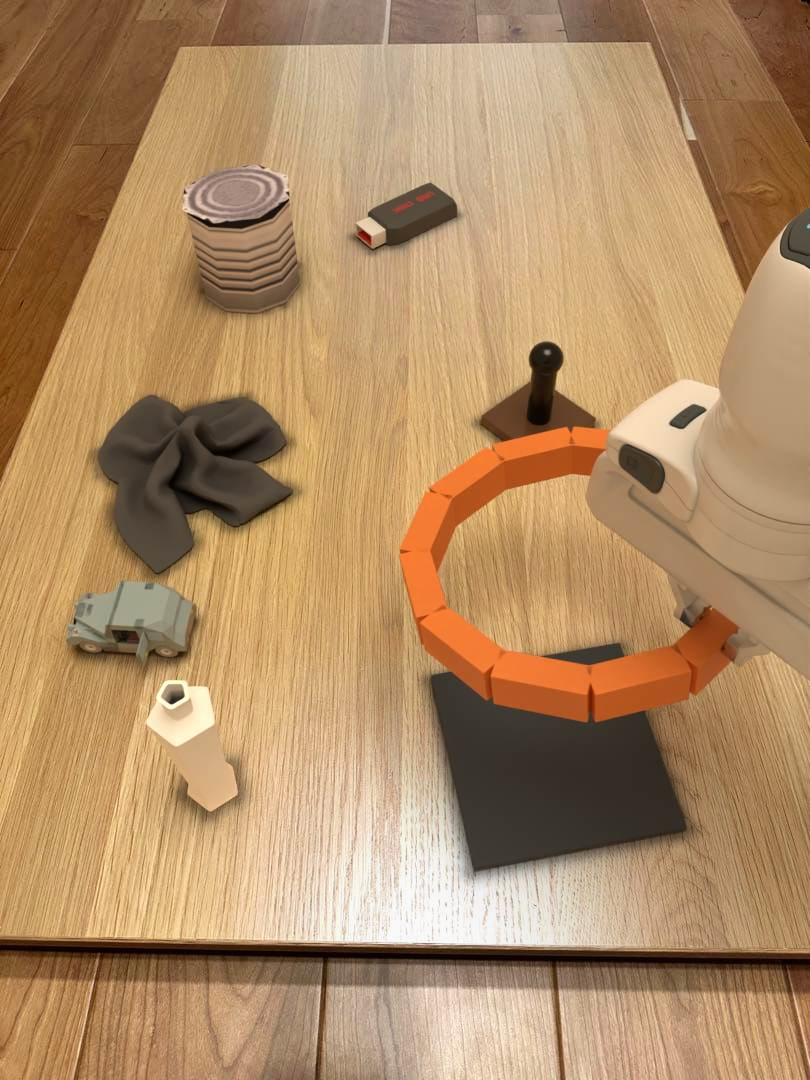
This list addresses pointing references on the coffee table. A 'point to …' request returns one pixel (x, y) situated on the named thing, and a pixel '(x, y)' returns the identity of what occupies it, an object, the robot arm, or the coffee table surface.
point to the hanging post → (537, 401)
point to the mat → (551, 775)
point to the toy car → (133, 620)
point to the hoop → (524, 675)
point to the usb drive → (406, 216)
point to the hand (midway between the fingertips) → (713, 635)
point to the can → (243, 237)
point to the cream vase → (193, 742)
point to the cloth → (188, 470)
